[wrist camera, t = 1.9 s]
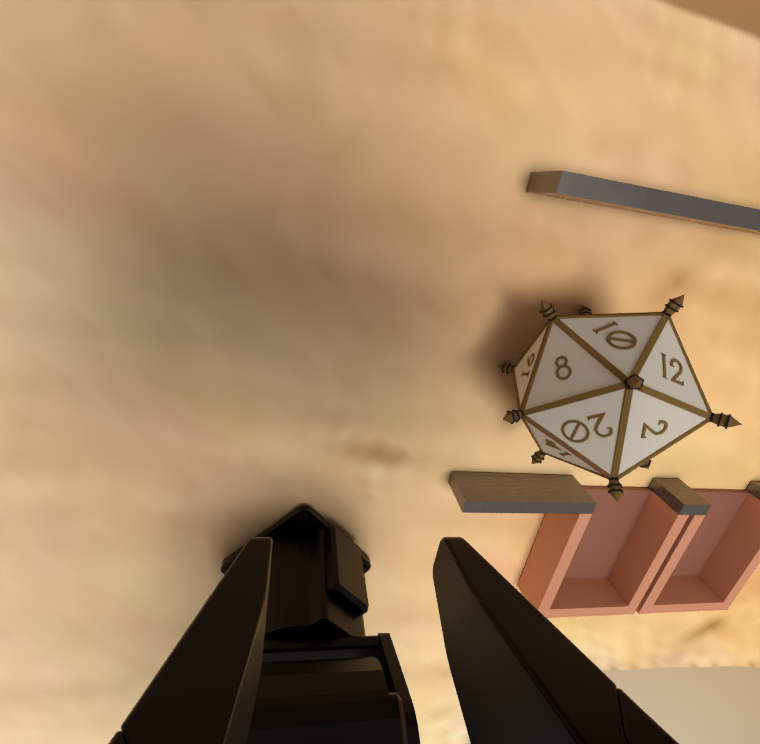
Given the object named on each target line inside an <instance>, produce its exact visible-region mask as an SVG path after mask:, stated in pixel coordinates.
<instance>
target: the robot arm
mask: <svg viewBox="0 0 760 744" xmlns="http://www.w3.org/2000/svg"><path fill="white" fill-rule="evenodd" d="M302 514H306V516H302ZM229 566H230V567H229ZM370 567H371V565H370V559H369V558H368V557H367V556H366V555H365V554H364V553H363V552H361V549H360V547H359V546H358V545H356V544H355V543H354V542H353V541H352V540H351V539H350V538H348V537H347V536H346V535H345V534H344V533H343V532H342V531H340V530H339V529H338V528H337V527H336V526H332V525H330V524H329V523H328V522H327V521H326V520H324V519H323V518H322V517H321V516H320V515H319V514H318V513H316V512H315V511H314V510H313V509H312V508H311V507H309V506H300V507H298V508H297V509H295V510H294V511H292V512H291V513H290V514H288V515H287V516H285V517H284V518H282V519H281V520H280V521H278V522H277V523H275V524H274V525H273V526H271V527H270V528H268V529H267V530H265V531H264V532H263V533H261V534H260V535H258V536H257V537H252V538H250V539H249V540H248V541H247V543H246V544H245V545H244V546H243V547H241V548H240V549H238V550H237V551H236V552H234V553H233V554H231V555H230V556H229V557H227V558H226V559H224V561H223V562H222V566H221V572H222V573H223V574H225V575H224V576H223V578H222V579H221V581H220V582H219V584H218V585H217V586H216V588H215V589H214V591H213V592H212V594H211V595H210V597H209V598H208V600H207V601H206V603H205V604H204V605H203V607H202V608H201V610H200V611H199V613H198V614H197V616H196V617H195V619H194V620H193V622H192V623H191V624H190V626H189V627H188V629H187V630H186V632H185V633H184V635H183V636H182V638H181V639H180V641H179V642H178V643H177V645H176V646H175V648H174V649H173V651H172V652H171V654H170V655H169V657H168V658H167V660H166V661H165V662H164V664H163V665H162V667H161V668H160V670H159V671H158V673H157V674H156V676H155V677H154V679H153V680H152V681H151V683H150V684H149V686H148V687H147V689H146V690H145V692H144V693H143V695H142V696H141V698H140V699H139V700H138V702H137V703H136V705H135V706H134V708H133V709H132V711H131V712H130V714H129V715H128V717H127V718H126V719H125V721H124V722H123V724H122V726H121V731H122V732H121V731H118V732H117V733H116V734H115V735H114V737H113V738H112V739H111V741H110V742H109V744H420V738H419V731H418V724H417V719H416V714H415V710H414V706H413V703H412V699H411V696H410V693H409V690H408V687H407V684H406V681H405V678H404V675H403V672H402V669H401V666H400V663H399V660H398V658H397V655H396V652H395V649H394V646H393V643H392V640H391V637H390V634H389V633H378V636H365V629H364V621H363V614H365V613H366V612H367V611H368V606H369V605H368V598H367V591H366V584H365V577H364V573H365V572H367V571H368V570H369V569H370ZM433 580H434V586H435V591H436V597H437V603H438V608H439V614H440V620H441V626H442V631H443V637H444V643H445V648H446V653H447V658H448V662H449V666H450V670H451V674H452V677H453V681H454V684H455V688H456V692H457V695H458V699H459V702H460V706H461V710H462V713H463V717H464V720H465V724H466V727H467V731H468V735H469V738H470V742H471V744H679V743H677V742H676V741H675V740H674V739H673V738H672V737H671V736H670V735H669V734H668V733H667V732H666V731H665V730H663V729H662V728H661V727H660V726H659V725H658V724H657V723H656V722H655V721H654V720H653V719H652V718H651V717H649V716H648V715H647V714H646V713H645V712H644V711H643V710H642V709H641V708H640V707H639V706H638V705H637V704H636V703H635V702H634V701H633V700H631V699H630V698H629V697H628V696H627V695H626V694H625V693H624V692H623V691H622V690H621V689H619V688H618V689H617V688H616V685H615V684H614V683H613V682H612V681H611V680H610V679H609V678H608V677H607V676H606V675H605V674H604V673H603V672H602V671H601V670H600V669H599V668H598V667H597V666H596V665H595V664H594V663H593V662H592V661H591V660H590V659H589V658H587V657H586V656H585V655H584V654H583V653H582V652H581V651H580V650H579V649H578V648H577V647H576V646H575V645H574V644H573V643H572V642H571V641H570V640H569V639H568V638H567V637H566V636H565V635H563V634H562V633H561V632H560V631H559V630H558V629H557V628H556V627H555V626H554V625H553V624H552V623H551V622H550V621H549V620H548V619H547V618H546V617H545V616H544V615H543V614H542V613H541V612H539V611H538V610H537V609H536V608H535V607H534V606H533V605H532V604H531V603H530V602H529V601H528V600H527V599H526V598H525V597H524V596H523V595H522V594H521V593H520V592H519V591H518V590H517V589H516V588H514V587H513V586H512V585H511V584H510V583H509V582H508V581H507V580H506V579H505V578H504V577H503V576H502V575H501V574H500V573H499V572H498V571H497V570H496V569H495V568H494V567H493V566H492V565H490V564H489V563H488V562H487V561H486V560H485V559H484V558H483V557H482V556H481V555H480V554H479V553H478V552H477V551H476V550H475V549H474V548H473V547H472V546H471V545H470V544H469V543H468V542H466V541H465V540H464V539H463V538H461V537H444V538H442V540H441V541H440V544H439V548H438V551H437V555H436V558H435V562H434V566H433Z"/></svg>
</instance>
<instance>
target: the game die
mask: <svg viewBox="0 0 760 744" xmlns="http://www.w3.org/2000/svg"><path fill="white" fill-rule="evenodd" d="M669 300H670V301H669V303H668V304H665V306H666V307H665V309H664V311H662V312H646V313H617V314H591V313H590V311H591V309H589V308H587V307H585V306H584V305H583V307H582V308H581V309H580V310H579V313H580V315H560V316H556V315H555V313H554V312H555V310H554V308H553V309H552V305H551V304H548V303H546V302H543V301H541V310H540V313H542V314H543V317H546V318H547V319H548V322H547V323H546V325H545V326H544V327H543V329H542V330H541V332H540V333H539V334H538V336H537V337H536V338H535V340H534V341H533V342H532V344H531V345H530V346H529V348H528V349H527V351H526V352H525V353H524V355H523V356H522V357H521V359H520V360H519V361H518V363H517V364H516V365H515V366H512V365H511V364H510V363H509V364H507V363H506V362H505V363H504V364H502V365H499V366H498V367H499V368H500V370H501V371H502V373H504V372H506V373H513V379H514V385H515V391H516V397H517V403H518V411H516V410H512V411H507V414H506V415H505V417H504V418H503V420H505V421H507V422H510V423H511V424H513V423H514V422H518V421H519V420H520V418H522V420H523V422H524V424H525V425H526V427H527V429H528V430H529V432H530V434H531V435H532V437H533V439H534V440H535V442H536V444H537V446H538V447H539V449H540V450H539V451H537V452H535V454H534V455H532V456H531V457H532V464H535V463H542V460H544V456H545V455H549V456H551V457H554V458H556V459H559V460H561V461H564V462H567V463H569V464H572V465H574V466H577V467H579V468H582V469H584V470H587V471H589V472H592V473H594V474H597V475H599V476H602V477H604V478H607V479H609V485H607V487H608V488H609V491H608V493H609V494H611V495H612V496H613V498H614V499H615V500H616V501H617V502H619V500H620V498H621V496H622V494H624V493H623V490H622V489H621V488H622V485H621V484H620V483H619V479H620V478H622V477H623V476H625V475H626V474H628V473H630V472H631V471H633V470H634V469H636V468H637V467H639V466H640V467H641V468H642V467H644V468H647V469H649V465H650V463H651V460H650V459H652V458H653V457H655V456H656V455H658V454H659V453H661V452H663V451H664V450H666V449H667V448H669V447H670V446H672V445H673V444H675V443H677V442H678V441H680V440H681V439H683V438H684V437H686V436H688V435H689V434H691V433H692V432H694V431H695V430H697V429H699V428H700V427H702V426H703V425H705V424H706V423H708V422H713V423H715V424H717V426H718V427H719V425H720V426H723V427H725V429H727V427H732V426H737V425H742V424H741V423H739V422H738V421H737V420H735V419H734V418H733V417H732V416H731V414H729V415H724V414H723V413H721V414H714V413H712V411H711V409H710V407H709V405H708V402H707V400H706V398H705V395H704V393H703V391H702V388H701V386H700V384H699V381H698V379H697V377H696V375H695V372H694V370H693V368H692V365H691V363H690V361H689V358H688V356H687V354H686V352H685V349H684V347H683V345H682V342H681V340H680V338H679V335H678V333H677V331H676V329H675V326H674V324H673V322H672V319H671V315H672V314H674V313H675V312H678V310H679V309H680V308H681V307H682V308H683V307H684V306H682V305H683V300H684V295H682V296H679V297H677V298H674V299H669Z"/></svg>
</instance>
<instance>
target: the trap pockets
mask: <svg viewBox="0 0 760 744" xmlns="http://www.w3.org/2000/svg"><path fill="white" fill-rule="evenodd" d="M582 487H583V488H584V489H585V490H586V491H587V492H588V493H589V494H590V496H591V497H592V498H593V499H594V500H595V501H596V502H597V504H596V507H595V509H594V511H593V513H592V514H558V513H546V514H545V517H544V519H543V522H542V524H541V527H540V529H539V532H538V534H537V537H536V539H535V542H534V545H533V547H532V550H531V552H530V555H529V557H528V560H527V562H526V565H525V567H524V570H523V573H522V575H521V578H520V580H519V583H518V587H519V589H520V591H521V593H522V595H523V596H524V597H525V598H526V599H527V600H528V601H529V602H530V603H531V604H532V605H533V606H534V607H535V608H536V609H537V610H538V611H539V612H541V613H542V614H543V615H544V616H545V617H546V618H555V617H577V616H599V615H622V614H634V613H635V611H637V612H638V614H644V613H666V612H688V611H710V610H727V609H728V608H729V606H730V605H731V603H732V602H733V601H734V599H735V598H736V596H737V595H738V593H739V592H740V590H741V589H742V587H743V586H744V585H745V583H746V582H747V580H748V579H749V577H750V576H751V574H752V573H753V571H754V570H755V569H756V567H757V566H758V564H759V563H760V500H758V499H757V498H756V497H754V496H753V495H751V494H750V493H748V492H747V491H746V490H713V489H692V490H694V491H695V492H696V493H697V494H699V495H700V496H701V497H702V498H704V499H705V500H706V501H707V502H709V503H710V504H711V507H710V509H709V510H708V512H707V514H706V515H678V514H677V513H676V512H675V511H674V510H673V509H672V508H670V507H669V506H668V505H667V504H666V503H665V502H664V501H663V500H662V499H660V498H659V497H658V496H657V495H656V494H655V493H654V492H653V491H652V490H650V489H649V488H638V487H622V488H621V489H622V490H623V493H624V494H622V496H621V498H620V500H619V502H617V501H616V500H615V499H614V498H613V496H612V495H611V494H609V493H608V491H609V488H608V487H600V486H582Z"/></svg>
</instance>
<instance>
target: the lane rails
mask: <svg viewBox="0 0 760 744" xmlns="http://www.w3.org/2000/svg"><path fill="white" fill-rule="evenodd" d="M527 192H530V193H535V194H541V195H546V196H551V197H557V198H562V199H568V200H573V201H579V202H584V203H590V204H595V205H601V206H606V207H612V208H617V209H623V210H628V211H633V212H639V213H644V214H650V215H655V216H661V217H666V218H672V219H677V220H683V221H688V222H694V223H699V224H705V225H710V226H715V227H721V228H726V229H732V230H737V231H743V232H748V233H754V234H759V235H760V210H758V209H753V208H748V207H743V206H738V205H733V204H728V203H723V202H718V201H713V200H708V199H703V198H697V197H692V196H687V195H682V194H677V193H672V192H667V191H662V190H657V189H652V188H647V187H642V186H637V185H632V184H627V183H622V182H617V181H612V180H607V179H602V178H597V177H591V176H586V175H581V174H576V173H571V172H566V171H548V172H532V173H531V177H530V180H529V184H528V188H527ZM449 485H450V487H451V489H452V491H453V493H454V495H455V497H456V500H457V502H458V504H459V506H460V508H461V510H462V512H470V513H558V514H592V513H593V511H594V509H595V507H596V504H597V502H596V501H595V500H594V499H593V498H592V497H591V496H590V494H589V493H588V492H587V491H586V490H585V489H584V488H583V487H582V486H581V484H580V483H579V482H578V481H577V480H576V479H575V478H574V477H573V476H572V475H547V474H516V473H485V472H454V471H451V475H450V479H449ZM649 489H650V490H652V491H653V492H654V493H655V494H656V495H657V496H658V497H659V498H660V499H662V500H663V501H664V502H665V503H666V504H667V505H668V506H669V507H670V508H672V509H673V510H674V511H675V512H676V513H677V514H678V515H706V514H707V512H708V510H709V509H710V507H711V504H710V503H709V502H707V501H706V500H705V499H704V498H702V497H701V496H700V495H699V494H697V493H696V492H695V491H694V490H692V489H691V488H690V487H689V486H687V485H686V484H685V483H684V482H682V481H681V480H680V479H671V478H653V480H652V482H651V484H650V486H649ZM746 491H747V492H748V493H750V494H751V495H753V496H754V497H756V498H757V499H758V500H760V481H751V482H750V484H749V485H748V487H747V489H746Z"/></svg>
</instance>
